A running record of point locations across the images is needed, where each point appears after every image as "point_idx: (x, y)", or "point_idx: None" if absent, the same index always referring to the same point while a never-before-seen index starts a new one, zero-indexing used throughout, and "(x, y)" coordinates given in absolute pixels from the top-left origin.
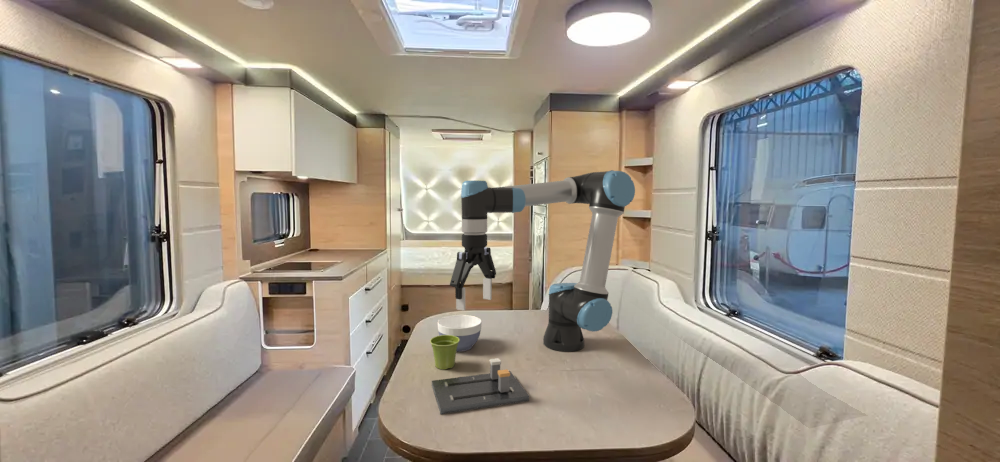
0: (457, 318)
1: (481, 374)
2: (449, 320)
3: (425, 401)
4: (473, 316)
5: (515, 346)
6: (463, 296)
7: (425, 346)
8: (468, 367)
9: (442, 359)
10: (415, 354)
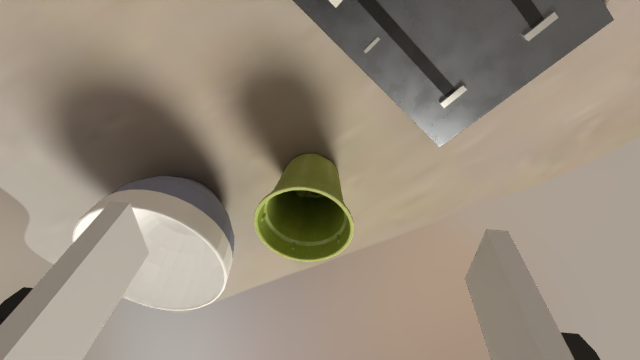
0: None
1: (330, 37)
2: (149, 290)
3: (530, 102)
4: None
5: (40, 66)
6: (562, 344)
7: (246, 266)
8: (281, 116)
9: (339, 184)
10: None
